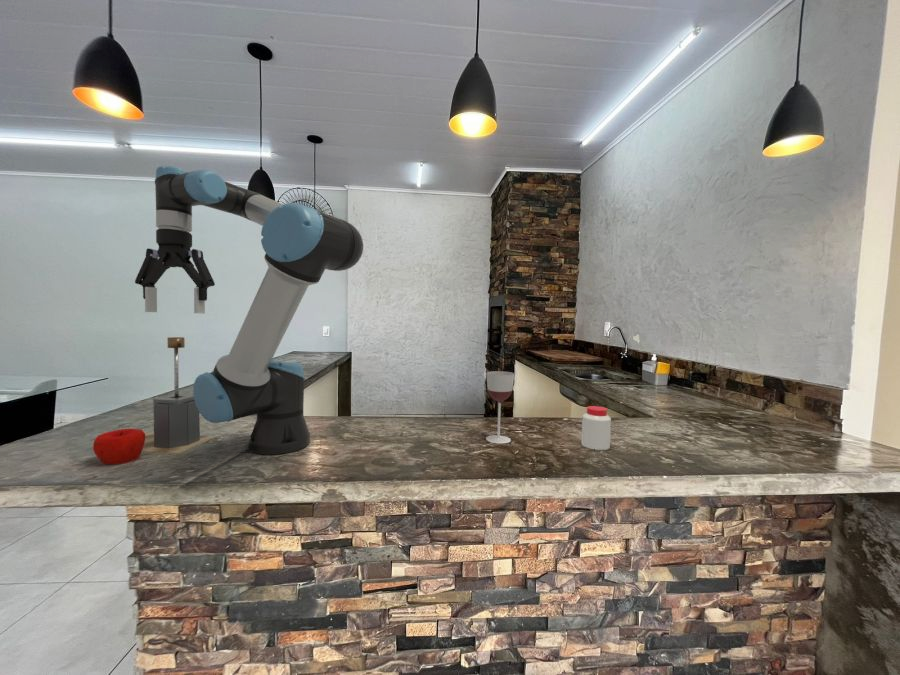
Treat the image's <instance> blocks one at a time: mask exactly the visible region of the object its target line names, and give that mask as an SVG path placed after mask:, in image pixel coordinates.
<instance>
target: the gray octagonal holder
mask: <svg viewBox="0 0 900 675" xmlns="http://www.w3.org/2000/svg"><path fill="white" fill-rule="evenodd" d="M152 401H153V405H152V407H153V408H152V410H153V433H154V447H156V448H174V447H180V446H186V445H190V444H192V443H194V442H197V441H199V440H200V436H201V434H200V430H201V429H200V426H201V425H200V423H201V422H200V412H199V411H198V409H197V407H196V404H195V400H194V395H193V394H182V393H179V398H175V393H173V394H170V395H166V396H162V397H157V398H153V400H152Z"/></svg>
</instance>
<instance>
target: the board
mask: <svg viewBox="0 0 900 675" xmlns="http://www.w3.org/2000/svg"><path fill="white" fill-rule="evenodd" d="M144 433H145V442H144V446H143V449H142V452H151V453H168V454H181V453H183V452H185V451H188V450H190V449H193V448H195V447H197V446H198V445H200V444H203V443H205V442H208V441H210V440H213V439H215V438H216V436H210V435H200V440H199V441H197V442H194V443H192V444H190V445H186V446H180V447H174V448H156V447H154V432H144Z"/></svg>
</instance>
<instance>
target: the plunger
mask: <svg viewBox="0 0 900 675" xmlns="http://www.w3.org/2000/svg"><path fill="white" fill-rule="evenodd" d="M166 338H167V348H168V349H173V366H174V368H173V369H174V370H173V371H174V372H173V374H174V376H173V378H174V382H173V383H174V384H173V385H174V394H175V398H179V394H180V393H179V392H180V391H179V390H180V389H179V388H180V387H179V385H180V383H179V380H180V379H179V378H180V377H179V375H180V374H179V373H180V372H179V370H180V369H179V349H183V348H184V349H185V343H186V342H185V337H183V336H182V337H179V336H175V337H169V336H168V337H166Z"/></svg>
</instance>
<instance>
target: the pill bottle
mask: <svg viewBox="0 0 900 675" xmlns="http://www.w3.org/2000/svg"><path fill="white" fill-rule="evenodd" d="M581 420H582V421H581V441H580V442H581V445H582V447H585V448H587V449H590V450H594V449H595V450H594V451H607V450H609V449H610V447H611V428H612V427H611V425H612V418H611V416H610V415H609V414H608V408H606V407H604V406H598V405H597V406H596V405H590V406H587V407H586V412H585V413H584V414H582V418H581Z"/></svg>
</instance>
